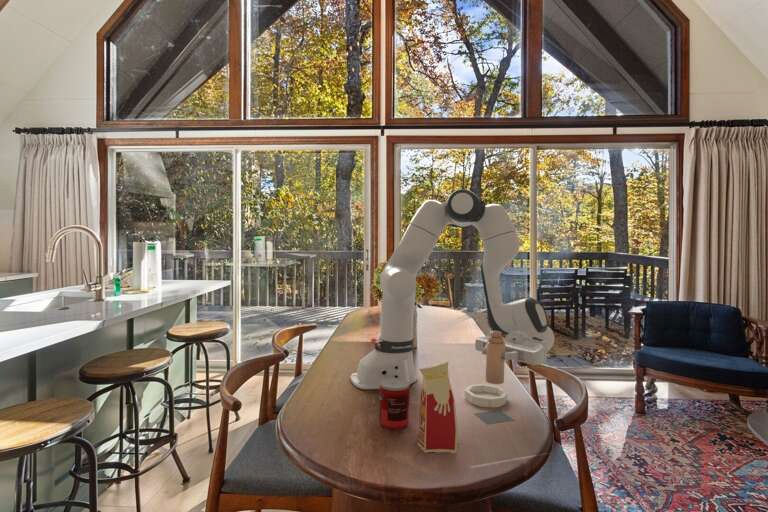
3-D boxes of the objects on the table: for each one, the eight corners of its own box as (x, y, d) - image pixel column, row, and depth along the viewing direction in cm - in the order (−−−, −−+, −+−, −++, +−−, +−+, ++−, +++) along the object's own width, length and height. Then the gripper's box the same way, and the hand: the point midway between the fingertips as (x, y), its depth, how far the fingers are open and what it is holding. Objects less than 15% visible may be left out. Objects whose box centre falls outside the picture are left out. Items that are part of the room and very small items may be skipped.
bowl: (478, 410, 123) (479, 400, 123) (459, 395, 134) (459, 386, 134) (514, 405, 126) (514, 396, 126) (492, 391, 138) (492, 382, 137)
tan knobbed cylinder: (491, 384, 118) (493, 334, 117) (482, 378, 123) (483, 330, 122) (507, 383, 119) (509, 333, 119) (497, 377, 124) (499, 329, 123)
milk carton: (450, 434, 108) (452, 356, 107) (458, 453, 99) (460, 367, 97) (414, 434, 108) (416, 355, 106) (418, 453, 98) (420, 367, 97)
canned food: (391, 414, 119) (391, 375, 118) (414, 423, 114) (415, 382, 113) (373, 423, 113) (373, 382, 112) (397, 433, 108) (397, 390, 107)
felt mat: (487, 425, 113) (487, 424, 113) (473, 414, 120) (473, 413, 120) (514, 421, 116) (514, 420, 116) (500, 410, 122) (500, 409, 122)
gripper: (490, 329, 137) (463, 335, 127) (552, 342, 122) (527, 351, 112) (489, 348, 137) (463, 356, 128) (551, 364, 122) (526, 374, 113)
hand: (493, 354), depth 120 cm, fingers closed on tan knobbed cylinder, 5 cm apart
